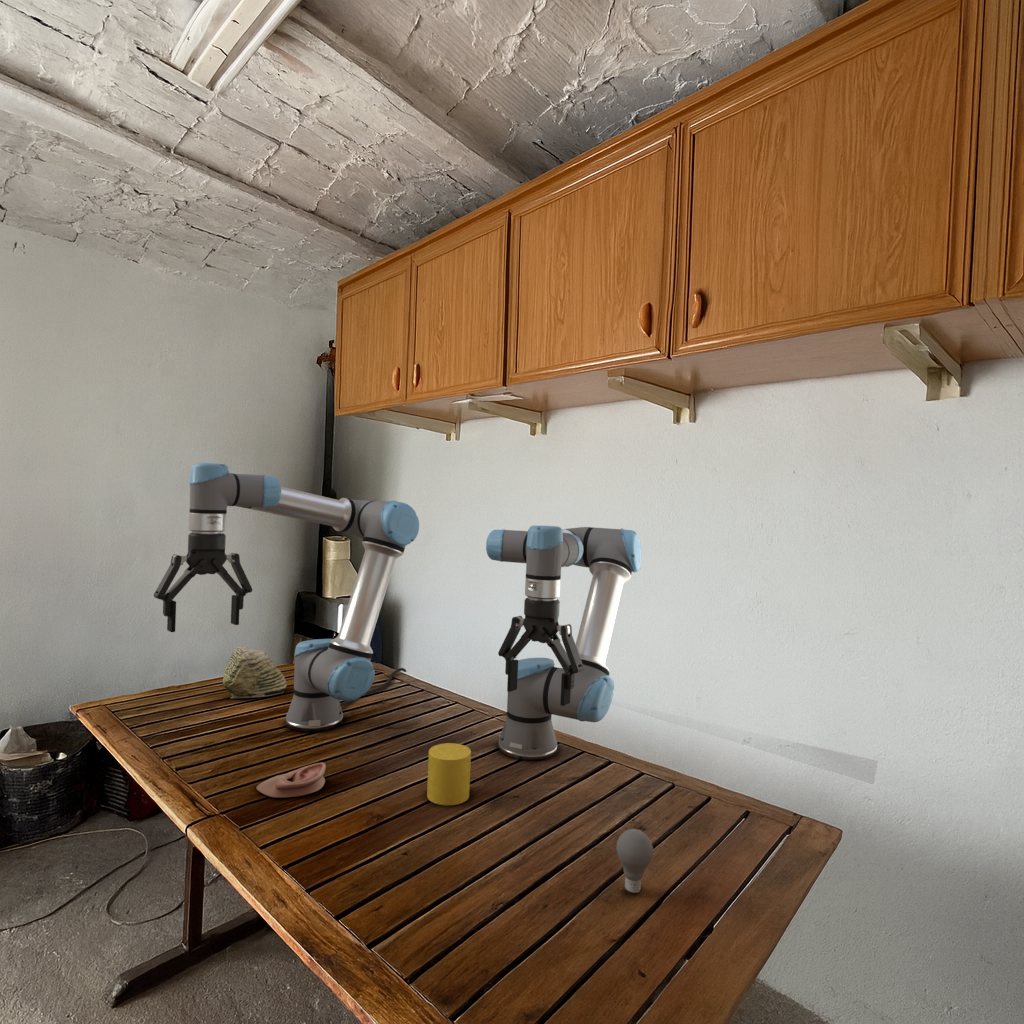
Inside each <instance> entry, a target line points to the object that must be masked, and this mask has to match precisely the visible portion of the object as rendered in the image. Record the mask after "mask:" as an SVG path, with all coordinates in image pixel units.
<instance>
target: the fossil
mask: <svg viewBox="0 0 1024 1024" xmlns="http://www.w3.org/2000/svg"><path fill="white" fill-rule="evenodd" d="M222 676H223V677H222V685H223V687H224V688H225V690H226V691H228V693H229V698H230V699H250V698H264V697H271V696H275V695H281V694H284V693H285V691H286V689H287V687H288V686H287V680H286V678H285V676H284V674H283V673H282V672H281V669H279V668H278V667H277V665H276V663H275V662H274V660H273V659H272V658H271V657H270V656H269V655H268V654H267V653H266V652H265V650H264V649H263V648H260V647H258V648H251V647H247V646H246V647H245V646H238V647H237V648H236V649H235V650H233V651H232V653H231V656H230V657H229V659H228V660H227V663H226V666H225V668H224V671H223V675H222Z"/></svg>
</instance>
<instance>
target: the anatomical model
mask: <svg viewBox="0 0 1024 1024" xmlns="http://www.w3.org/2000/svg"><path fill="white" fill-rule="evenodd" d="M326 768H327V765H326V763H325V762H316V763H313V764H309V765H306V766H302V767H300V768H297V769H294V770H292V771H289V772H286V773H282V774H278V775H275V776H273V777H270V778H267V779H265V780H264V781H262V782H261V783H259V784H258V785H256V790H257V792H259V793H261V794H263V795H264V796H267V797H270V798H275V799H278V798H293V797H294V798H295V797H300V796H301V797H302V796H306V795H309V794H312V793H315V792H318V791H320V790H321V789H322V788H323V787H324V785H325V783H326V778H325V777H324V775H325V772H326V770H327V769H326Z"/></svg>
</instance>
